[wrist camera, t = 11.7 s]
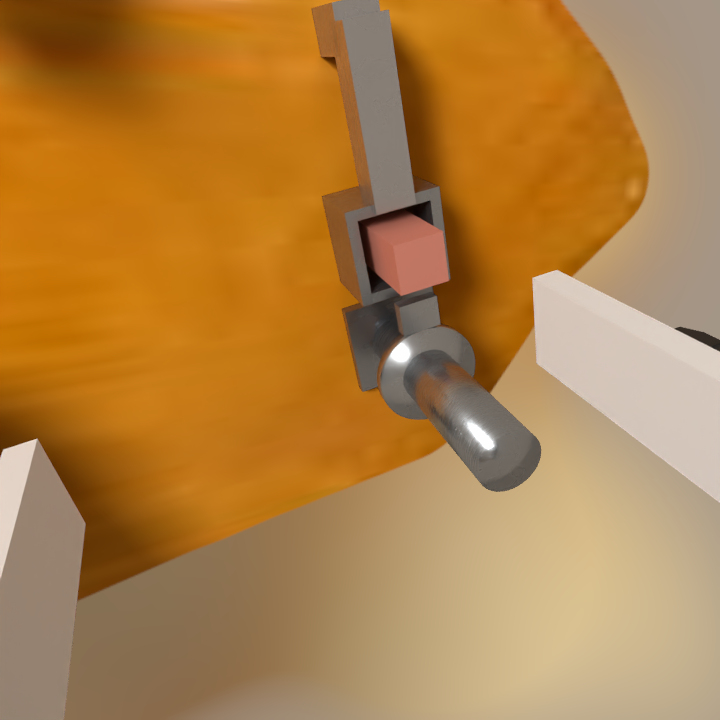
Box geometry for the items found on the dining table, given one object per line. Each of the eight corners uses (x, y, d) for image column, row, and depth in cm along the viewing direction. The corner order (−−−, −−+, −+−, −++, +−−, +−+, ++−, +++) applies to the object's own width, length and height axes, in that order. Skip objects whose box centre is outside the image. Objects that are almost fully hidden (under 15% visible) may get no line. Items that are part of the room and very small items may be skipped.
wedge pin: (356, 255, 50) (401, 295, 41) (347, 212, 48) (392, 246, 39) (396, 243, 50) (448, 280, 42) (389, 201, 49) (442, 231, 40)
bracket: (340, 281, 50) (365, 309, 45) (282, 14, 41) (304, 7, 35) (419, 257, 52) (453, 281, 46) (381, -7, 42) (418, -17, 36)
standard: (359, 386, 55) (457, 532, 38) (336, 282, 50) (437, 397, 33) (438, 359, 57) (567, 487, 40) (423, 256, 52) (564, 352, 35)
